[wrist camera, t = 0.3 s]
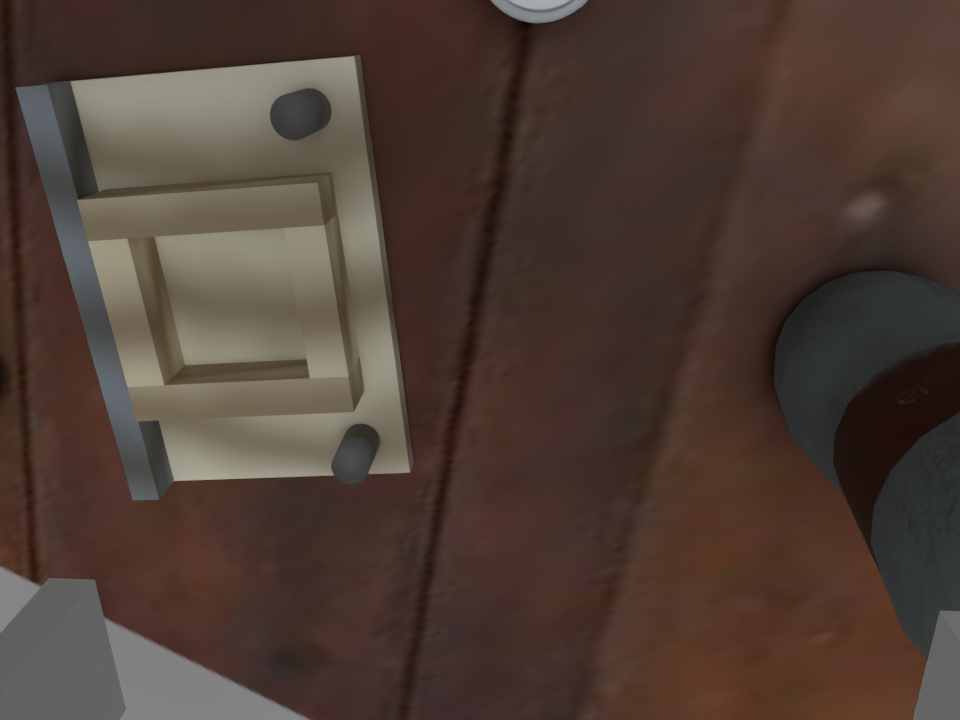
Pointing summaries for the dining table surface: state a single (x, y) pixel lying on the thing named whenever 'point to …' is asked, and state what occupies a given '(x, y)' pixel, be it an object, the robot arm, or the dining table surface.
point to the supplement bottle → (539, 9)
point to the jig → (229, 268)
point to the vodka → (885, 425)
